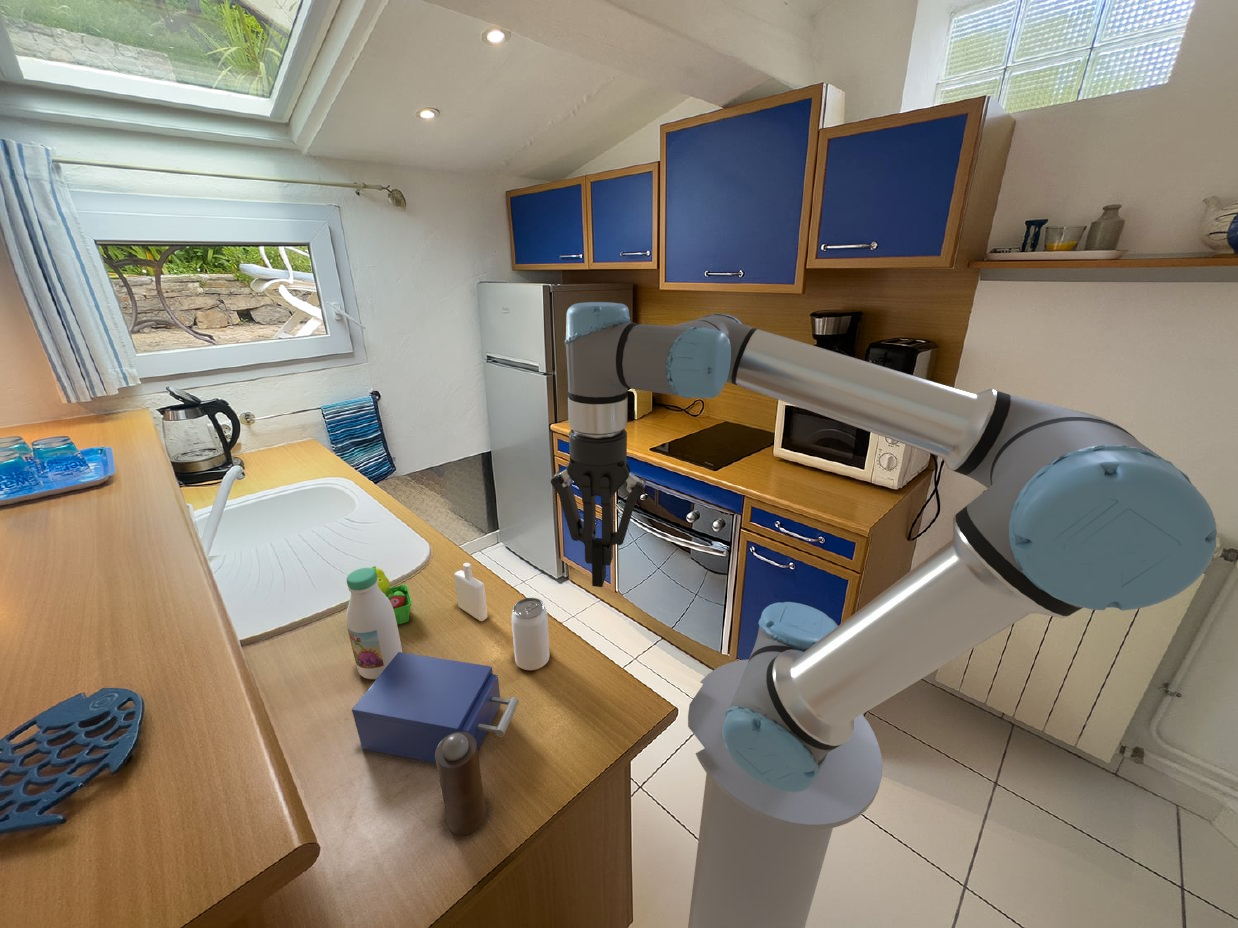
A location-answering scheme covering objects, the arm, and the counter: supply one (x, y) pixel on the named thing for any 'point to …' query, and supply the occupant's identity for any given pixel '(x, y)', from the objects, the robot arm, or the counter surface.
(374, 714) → the cabinet
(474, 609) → the perfume bottle
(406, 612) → the fruit basket
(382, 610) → the milk bottle
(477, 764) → the pepper mill
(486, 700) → the drawer
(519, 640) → the can
